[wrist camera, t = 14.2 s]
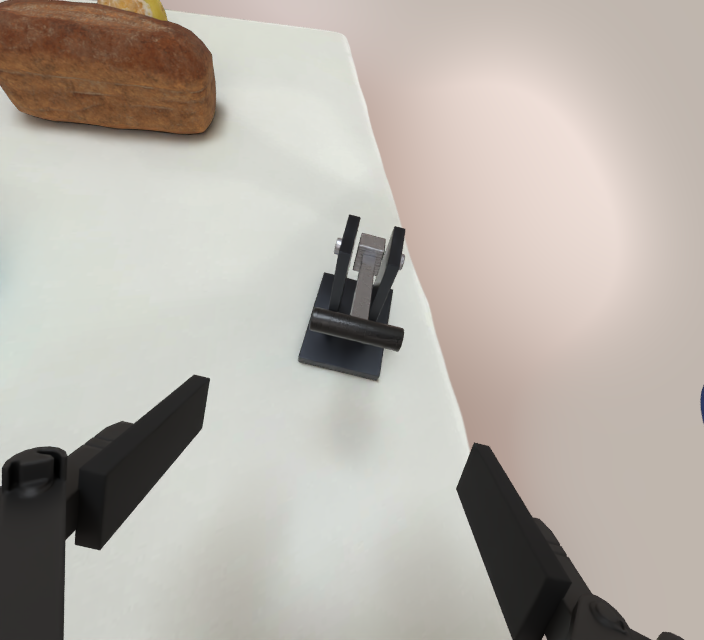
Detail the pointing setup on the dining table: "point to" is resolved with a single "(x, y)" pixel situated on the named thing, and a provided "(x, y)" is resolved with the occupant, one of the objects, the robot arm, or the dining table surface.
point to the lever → (361, 304)
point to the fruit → (139, 7)
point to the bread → (104, 67)
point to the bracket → (339, 298)
